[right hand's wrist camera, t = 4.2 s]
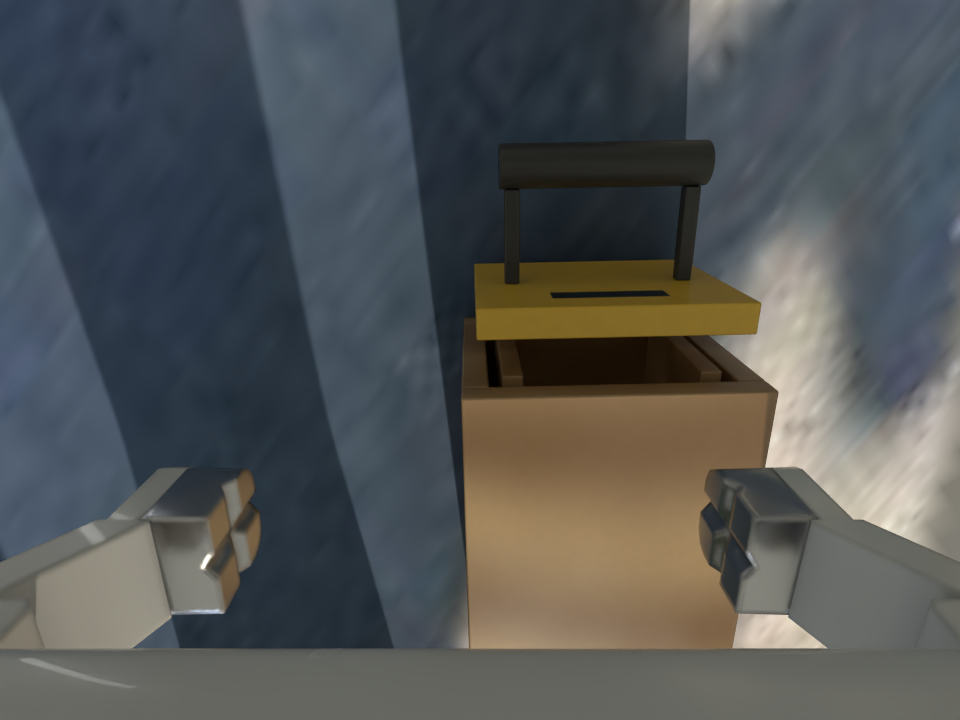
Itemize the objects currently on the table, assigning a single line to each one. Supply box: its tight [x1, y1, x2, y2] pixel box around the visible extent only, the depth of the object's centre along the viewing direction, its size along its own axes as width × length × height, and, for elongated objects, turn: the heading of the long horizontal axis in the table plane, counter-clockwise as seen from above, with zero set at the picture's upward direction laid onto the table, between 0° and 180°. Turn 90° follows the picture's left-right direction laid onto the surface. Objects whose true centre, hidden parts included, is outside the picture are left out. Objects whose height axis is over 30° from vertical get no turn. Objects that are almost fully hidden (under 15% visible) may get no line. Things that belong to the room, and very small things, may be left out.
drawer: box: [474, 140, 761, 387], centre depth 27 cm, size 24×10×8 cm, turn 1°
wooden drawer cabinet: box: [461, 317, 778, 649], centre depth 29 cm, size 20×11×10 cm, turn 1°
